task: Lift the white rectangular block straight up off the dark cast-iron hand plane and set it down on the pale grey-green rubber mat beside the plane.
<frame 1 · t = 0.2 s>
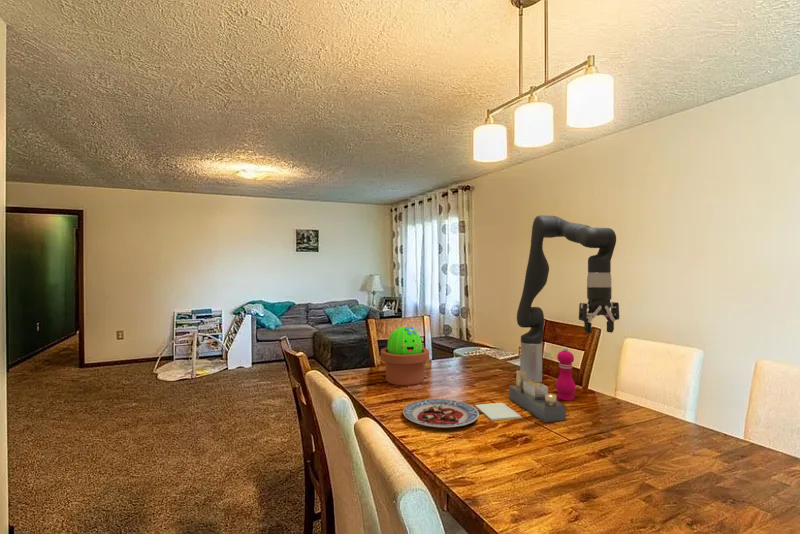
hand: (599, 332, 136), 29 cm above the table, tool pointing down, fingers open, 8 cm apart
ceramic plate: (440, 418, 135), on the table
hand plane: (535, 408, 143), on the table
white rectangular block: (535, 394, 143), point 5 cm above the table, touching hand plane
potted cactus: (404, 380, 180), on the table
pepper mill: (565, 398, 155), on the table
rubber mat: (497, 412, 140), on the table
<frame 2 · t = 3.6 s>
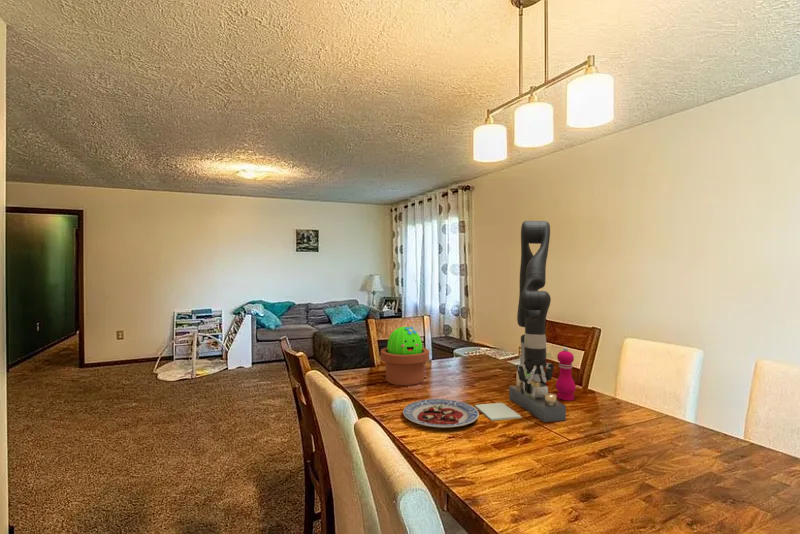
hand: (535, 392, 143), 6 cm above the table, tool pointing down, fingers closed on white rectangular block, 5 cm apart
white rectangular block: (535, 394, 143), point 5 cm above the table, touching gripper, hand plane
everything else where it was.
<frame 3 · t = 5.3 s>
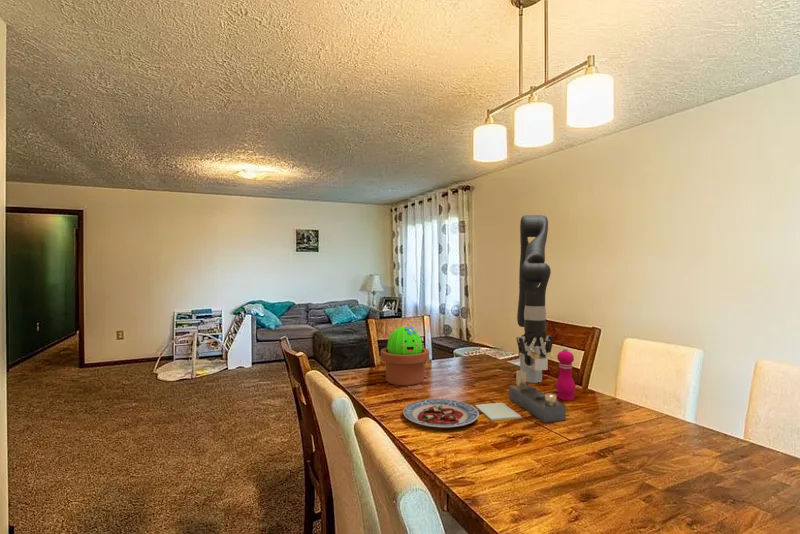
hand: (535, 364, 143), 16 cm above the table, tool pointing down, fingers closed on white rectangular block, 5 cm apart
white rectangular block: (535, 367, 143), point 15 cm above the table, touching gripper
everything else where it was.
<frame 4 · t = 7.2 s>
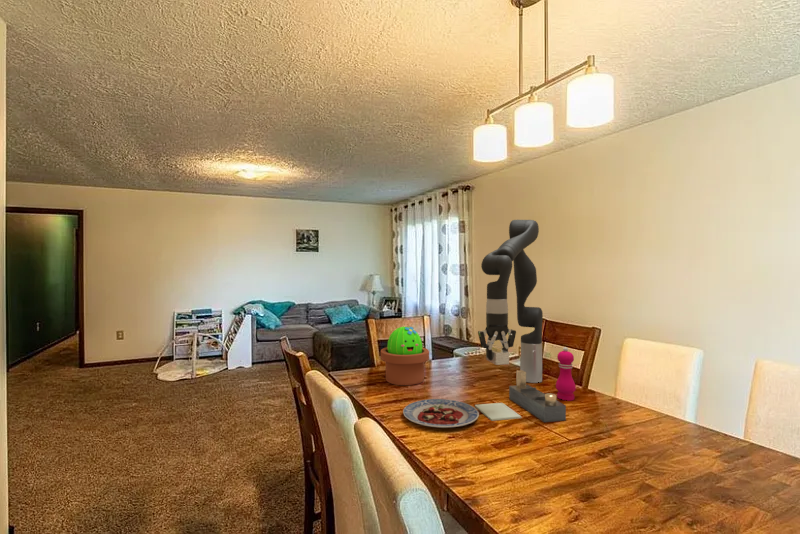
hand: (497, 359, 140), 19 cm above the table, tool pointing down, fingers closed on white rectangular block, 5 cm apart
white rectangular block: (497, 361, 140), point 18 cm above the table, touching gripper
everything else where it was.
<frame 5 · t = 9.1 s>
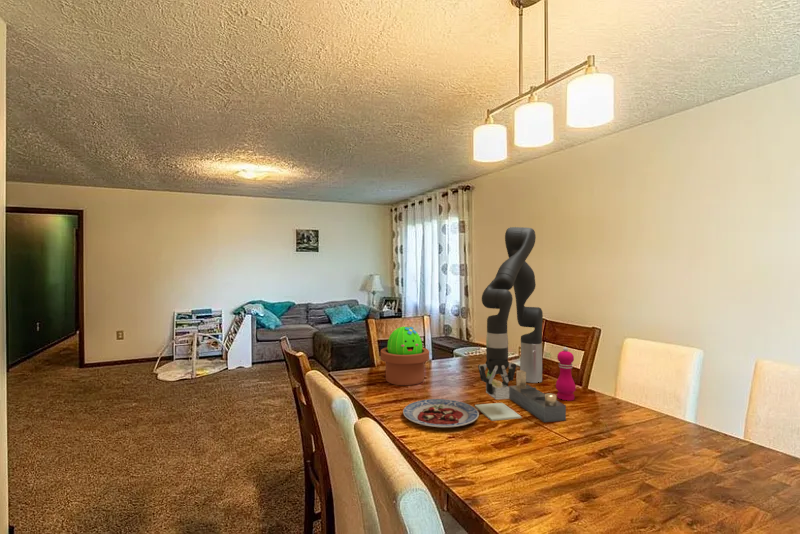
hand: (497, 393, 140), 7 cm above the table, tool pointing down, fingers closed on white rectangular block, 5 cm apart
white rectangular block: (497, 395, 140), point 6 cm above the table, touching gripper
everything else where it was.
when the fingers open (3 cm above the table, at t = 10.8 s): white rectangular block drops 2 cm, resting on rubber mat.
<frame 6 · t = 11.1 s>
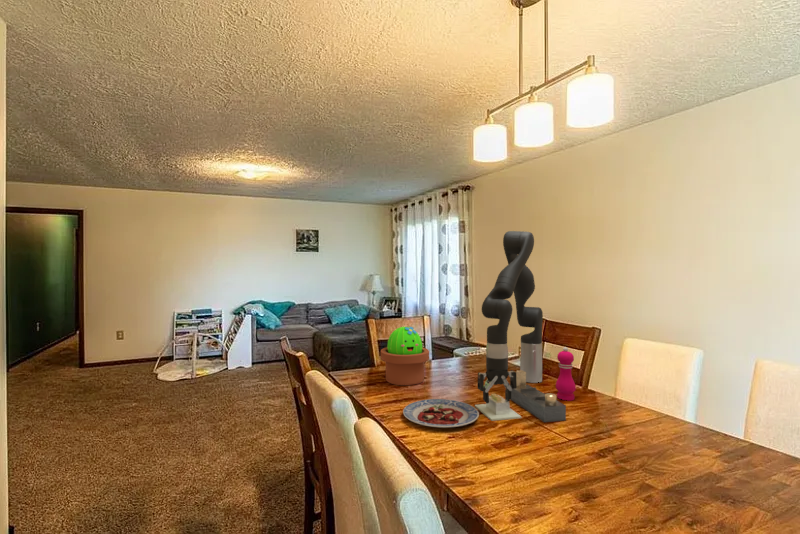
hand: (497, 401, 140), 4 cm above the table, tool pointing down, fingers open, 7 cm apart
white rectangular block: (497, 410, 140), point 1 cm above the table, touching rubber mat
everything else where it was.
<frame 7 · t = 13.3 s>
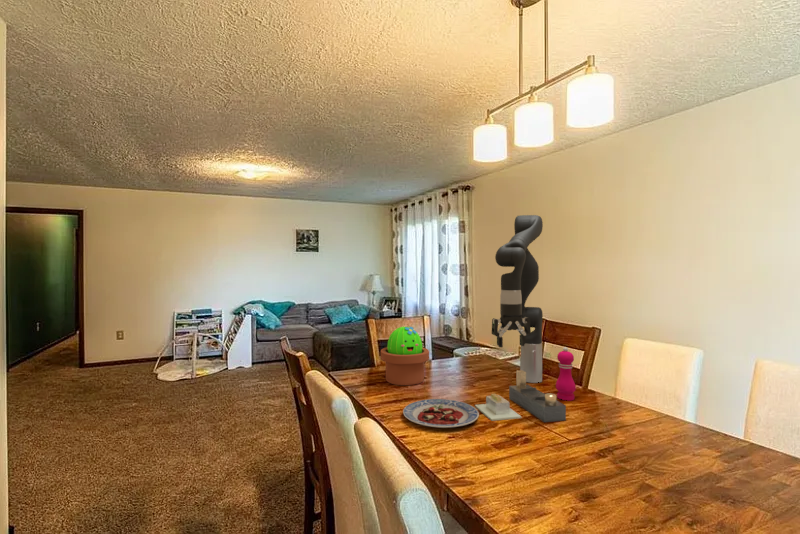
hand: (511, 346, 144), 22 cm above the table, tool pointing down, fingers open, 8 cm apart
nothing on the table moved.
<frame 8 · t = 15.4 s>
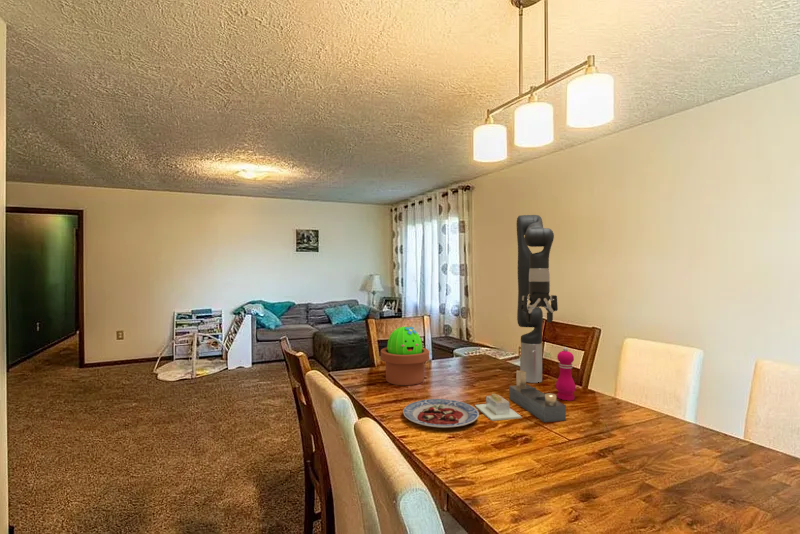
hand: (539, 322, 151), 30 cm above the table, tool pointing down, fingers open, 8 cm apart
nothing on the table moved.
at the end: white rectangular block inside the target area (0.2 cm from its centre), point 0.6 cm above the table; the gripper is holding nothing; white rectangular block tilted 0° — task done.
